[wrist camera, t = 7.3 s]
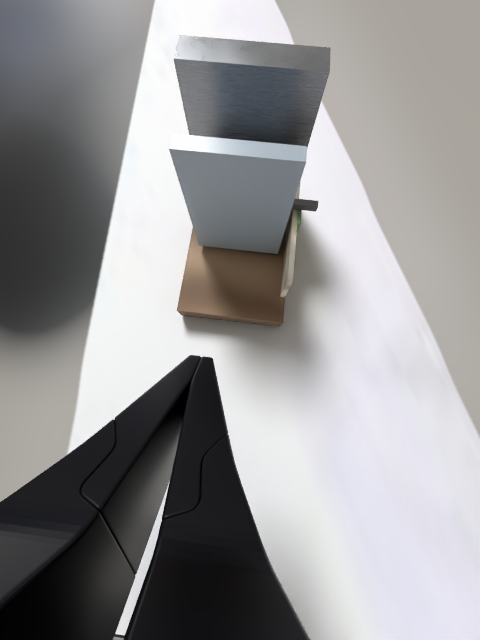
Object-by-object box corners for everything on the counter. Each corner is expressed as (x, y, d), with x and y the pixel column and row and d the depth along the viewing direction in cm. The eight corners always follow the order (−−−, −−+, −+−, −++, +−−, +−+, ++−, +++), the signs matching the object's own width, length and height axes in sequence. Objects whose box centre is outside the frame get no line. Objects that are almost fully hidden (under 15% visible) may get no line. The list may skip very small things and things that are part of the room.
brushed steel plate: (292, 197, 22) (329, 71, 13) (200, 188, 23) (173, 58, 13) (293, 180, 23) (330, 47, 14) (203, 171, 23) (179, 35, 14)
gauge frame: (282, 326, 21) (294, 312, 16) (181, 314, 21) (164, 297, 17) (293, 192, 24) (305, 149, 20) (205, 183, 25) (198, 139, 20)
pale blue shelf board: (303, 257, 21) (351, 166, 12) (199, 246, 21) (169, 148, 12) (305, 219, 22) (352, 106, 13) (206, 208, 22) (182, 91, 13)
